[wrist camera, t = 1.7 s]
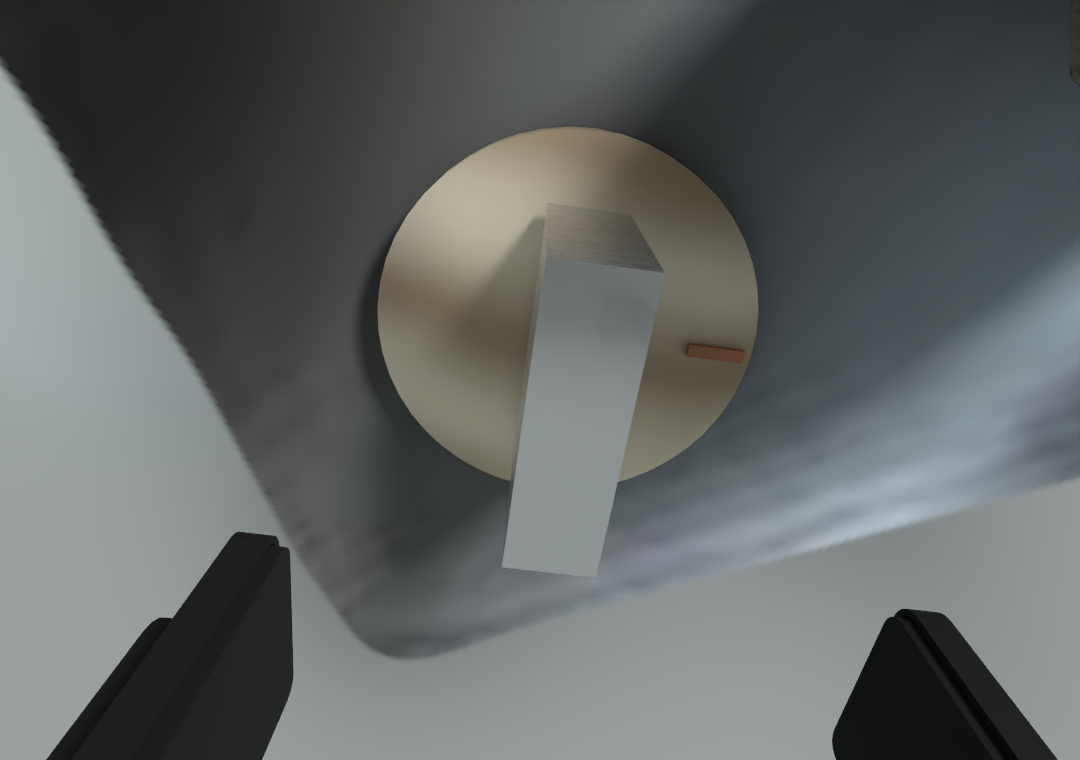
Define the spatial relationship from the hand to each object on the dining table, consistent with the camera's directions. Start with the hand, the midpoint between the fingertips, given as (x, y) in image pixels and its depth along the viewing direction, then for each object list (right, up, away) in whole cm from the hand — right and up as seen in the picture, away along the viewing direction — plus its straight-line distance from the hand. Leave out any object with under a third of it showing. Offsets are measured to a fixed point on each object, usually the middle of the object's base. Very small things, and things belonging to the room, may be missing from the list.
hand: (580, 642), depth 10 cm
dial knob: (0, +5, +10) cm, 11 cm away
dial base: (0, +6, +12) cm, 13 cm away
